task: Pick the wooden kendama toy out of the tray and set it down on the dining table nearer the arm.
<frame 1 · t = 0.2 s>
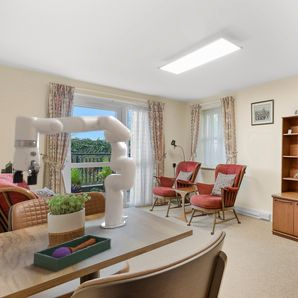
hand: (24, 184, 99), 31 cm above the table, tool pointing down, fingers open, 9 cm apart
tray: (75, 255, 100), on the table
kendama: (75, 255, 100), resting on tray
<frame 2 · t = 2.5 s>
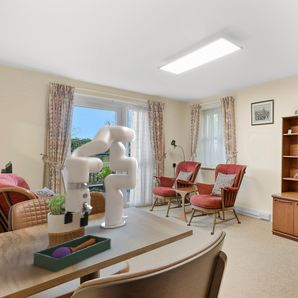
hand: (75, 224, 100), 14 cm above the table, tool pointing down, fingers open, 9 cm apart
nothing on the table moved.
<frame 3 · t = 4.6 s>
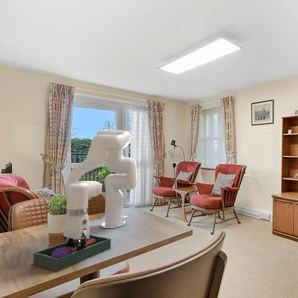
hand: (75, 252, 100), 1 cm above the table, tool pointing down, fingers closed on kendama, 5 cm apart
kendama: (74, 255, 100), resting on tray, touching gripper
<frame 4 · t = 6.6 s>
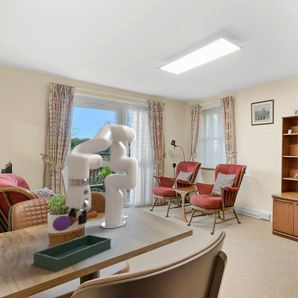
hand: (77, 222, 102), 14 cm above the table, tool pointing down, fingers closed on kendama, 5 cm apart
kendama: (76, 225, 102), point 13 cm above the table, touching gripper
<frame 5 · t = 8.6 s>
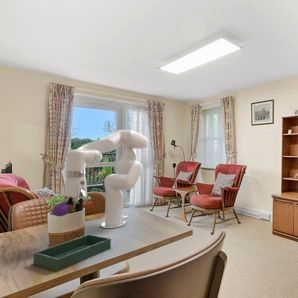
hand: (74, 210, 114), 16 cm above the table, tool pointing down, fingers closed on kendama, 5 cm apart
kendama: (73, 212, 114), point 15 cm above the table, touching gripper
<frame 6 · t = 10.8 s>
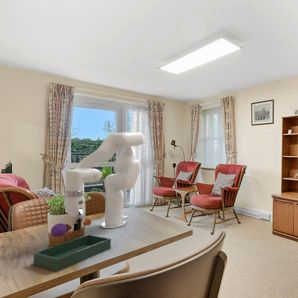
hand: (72, 229, 115), 6 cm above the table, tool pointing down, fingers closed on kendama, 5 cm apart
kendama: (72, 231, 115), point 5 cm above the table, touching gripper
when the fingers open (1 cm above the table, at t = 12.6 s): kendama stays where it is, on the table.
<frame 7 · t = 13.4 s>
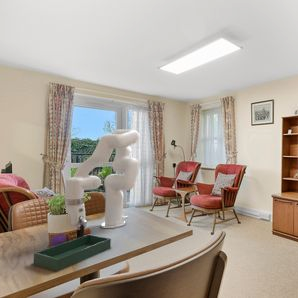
hand: (73, 235, 116), 3 cm above the table, tool pointing down, fingers open, 9 cm apart
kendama: (71, 241, 115), on the table
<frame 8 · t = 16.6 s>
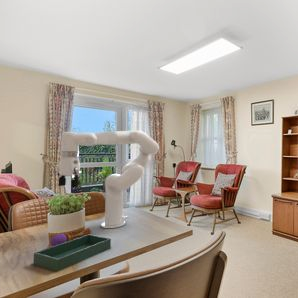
hand: (68, 186, 123), 26 cm above the table, tool pointing down, fingers open, 9 cm apart
nothing on the table moved.
at the end: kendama inside the target area (0.2 cm from its centre), on the table; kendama touching table; the gripper is holding nothing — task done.
